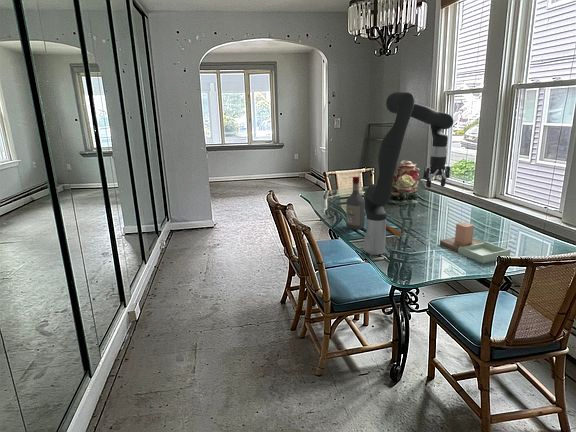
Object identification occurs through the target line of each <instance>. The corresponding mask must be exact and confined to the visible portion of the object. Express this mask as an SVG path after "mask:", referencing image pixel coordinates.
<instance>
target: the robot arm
mask: <svg viewBox="0 0 576 432" xmlns="http://www.w3.org/2000/svg"><path fill="white" fill-rule="evenodd" d="M385 106H386V110H388V111H389V112H390V113H392V114H396V116H395V120H394V122H393V124H392V126H391V128H390V129H389V130H388V131H387V133H386V134H385V135H384V137H383V139H382V140H381V143H380V147H379V150H378V154H377V163H378V164H377V165H378V178H377V180H376V181H377V182H376V183H371V184H370V185H368V187H367V188H366V190H365V192H364V200H365V214H366V225H365V226H366V227H365V228H366V229H365V230H366V232H364V241H363V243H364V244H363V245H364V246H363V247H364V248H363V250H364V251H363V252H365V253H367V254H369V255H370V256H380V255H379V254H381V255H383V253H384V254H386V237H387V229H386V224H387V212H386V210H385V208H384V206H386V205H387V204H388V203H389V202H388V201H389V199H390V196H391V190H392V183H393V177H394V173H395V174H396V170H397V164H398V161H399V158H400V154H401V149H402V145H403V141H404V137H405V136H406V135H405V134H406V131H407V128H408V125H409V122H410V119H411V118H413V119H415V120H417V121H420V122H422V123H424V124H427V125H430V131H431V135H432V142H431V149H430V158H429V165H430V166H429V167H424V170H423V176H422V177H423V178H422V179H423V180H426V184H425V185H426V188H429V189H430V188H431V187H432V179H433V178H435V177H436V176H440V177H441V179H440V187H442V188H444V187H445V186H446V182H447V181H446V180H447V179H449V178H450V177H451V176H450V175H451V166H449V165H446V164H447V156H448V155H447V154H448V139H449V137H448V135H447V134H445V133H444V132H443V131H442V130H448V129H451V128H452V126H453V125H454V118H453V116H452V114H449V113H446V112H443V111H437V110H436V109H433V108H431V107H429V106H426V105H424V104H419V103H415V96H414V94H413V93H412V92H408V91H407V92H403V91H402V92H401V91H395V92H392V93H390V94H389V95H388V96H387V97H386V100H385Z"/></svg>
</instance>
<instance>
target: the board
mask: <svg viewBox="0 0 576 432" xmlns="http://www.w3.org/2000/svg"><path fill="white" fill-rule="evenodd" d="M480 243H484V242H483V241H481V240H479V239H475V238H473V239H472V243H470V244H465V245H463V244H461V243H459V242H456V241H455V236H454V237H449V238H445V239H440V240H439V246H441V247H443V248H446V249H448V250H450V251H453V252H455V253H457V254H459V253H458V248H459V246H461V247H465V246H470V245H475V244H480Z"/></svg>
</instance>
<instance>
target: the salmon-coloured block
mask: <svg viewBox="0 0 576 432" xmlns="http://www.w3.org/2000/svg"><path fill="white" fill-rule="evenodd" d="M474 228H475V225H473V224H471V223H467V222H459V223H456V224H455V233H454V235H455V236H454V237H455V241H456V242H459V243H461V244H463V245H465V244H470V243H472V239H474V238H473V237H474Z"/></svg>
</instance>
